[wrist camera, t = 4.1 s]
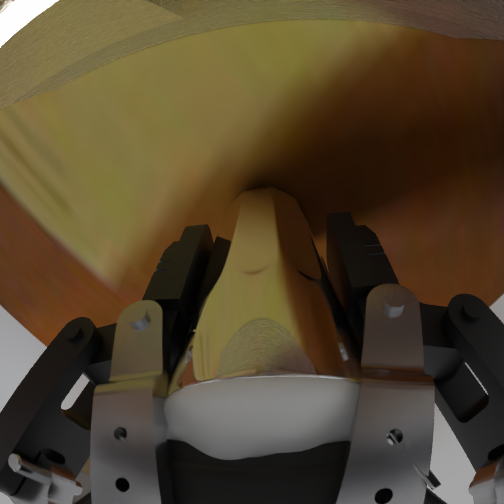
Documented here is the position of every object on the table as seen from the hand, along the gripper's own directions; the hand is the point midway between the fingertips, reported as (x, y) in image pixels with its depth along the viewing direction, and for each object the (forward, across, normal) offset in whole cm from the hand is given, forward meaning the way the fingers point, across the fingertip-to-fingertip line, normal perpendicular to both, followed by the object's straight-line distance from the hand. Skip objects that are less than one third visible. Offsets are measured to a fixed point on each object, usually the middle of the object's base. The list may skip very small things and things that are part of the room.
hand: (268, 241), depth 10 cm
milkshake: (+2, 0, 0) cm, 2 cm away
